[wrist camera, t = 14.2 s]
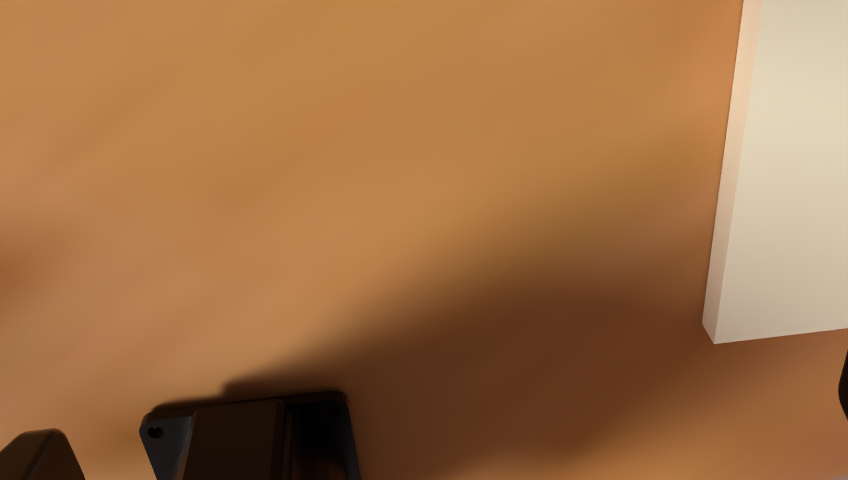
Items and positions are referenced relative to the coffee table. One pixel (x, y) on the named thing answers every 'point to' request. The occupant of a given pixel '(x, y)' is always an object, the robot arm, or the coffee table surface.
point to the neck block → (783, 177)
